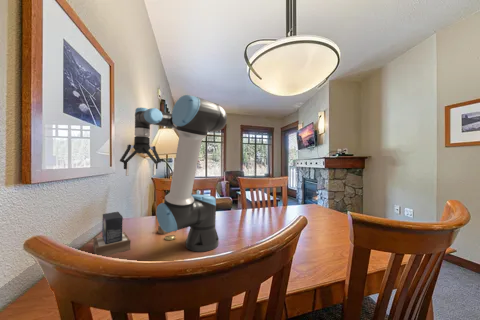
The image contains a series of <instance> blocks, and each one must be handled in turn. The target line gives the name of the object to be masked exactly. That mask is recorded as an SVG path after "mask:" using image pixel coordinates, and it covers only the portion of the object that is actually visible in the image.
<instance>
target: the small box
mask: <svg viewBox="0 0 480 320" xmlns="http://www.w3.org/2000/svg"><path fill="white" fill-rule="evenodd" d="M123 218H124V217H123V215H122V214H121V213H120V211H114V212H107V213H103V214H102V225H101V226H102V227H101V229H102V230H101V231H102V233H101V234H102V235H101V237H103V239H104V242H105V244H110V243H114V242H119V241H122V233H123V220H124V219H123Z"/></svg>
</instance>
